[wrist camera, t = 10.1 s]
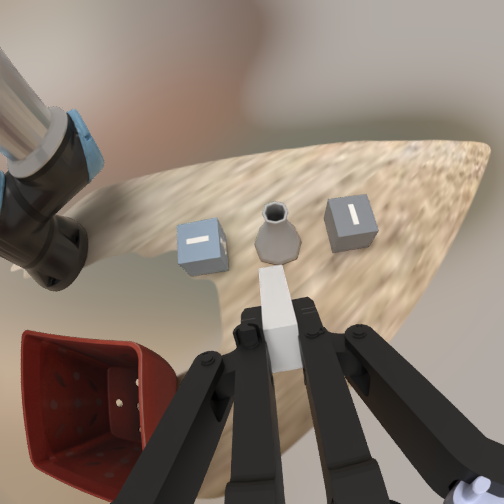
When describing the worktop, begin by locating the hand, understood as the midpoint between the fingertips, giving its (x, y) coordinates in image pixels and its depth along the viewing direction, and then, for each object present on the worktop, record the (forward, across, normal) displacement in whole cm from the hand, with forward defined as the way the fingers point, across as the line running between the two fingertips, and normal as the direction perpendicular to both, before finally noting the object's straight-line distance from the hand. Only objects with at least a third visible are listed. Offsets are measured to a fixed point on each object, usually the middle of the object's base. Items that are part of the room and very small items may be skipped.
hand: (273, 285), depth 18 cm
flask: (+26, +2, -6) cm, 26 cm away
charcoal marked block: (+25, +13, -6) cm, 29 cm away
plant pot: (+10, -23, -23) cm, 34 cm away
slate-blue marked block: (+25, -9, -6) cm, 28 cm away
